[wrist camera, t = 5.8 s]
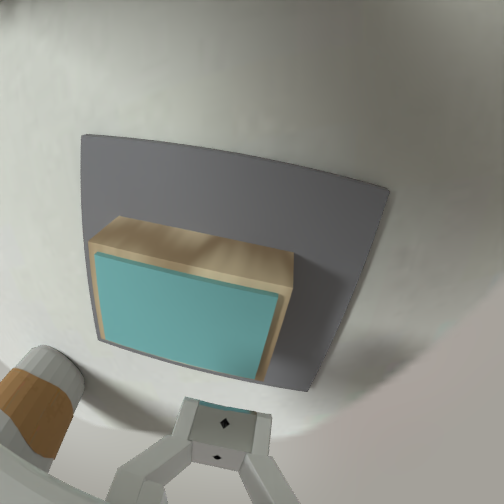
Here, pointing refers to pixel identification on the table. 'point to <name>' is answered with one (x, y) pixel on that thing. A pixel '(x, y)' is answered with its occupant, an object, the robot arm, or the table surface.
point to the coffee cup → (39, 405)
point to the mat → (244, 227)
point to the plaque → (190, 295)
